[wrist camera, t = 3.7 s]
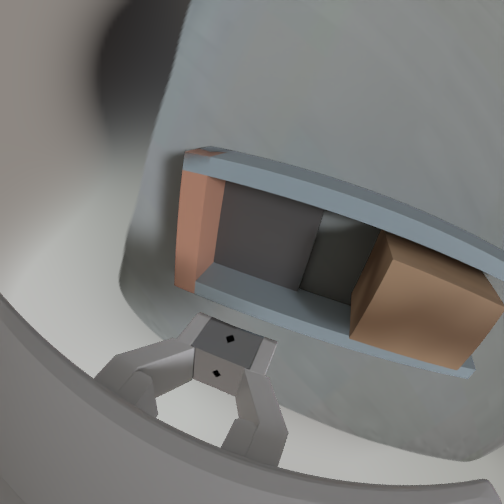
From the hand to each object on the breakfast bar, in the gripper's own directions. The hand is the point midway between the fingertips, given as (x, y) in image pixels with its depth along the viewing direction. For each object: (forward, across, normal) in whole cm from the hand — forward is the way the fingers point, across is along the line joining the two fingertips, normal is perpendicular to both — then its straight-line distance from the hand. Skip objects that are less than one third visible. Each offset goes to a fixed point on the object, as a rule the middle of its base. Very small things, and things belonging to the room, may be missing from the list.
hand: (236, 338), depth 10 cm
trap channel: (+9, -5, -1) cm, 10 cm away
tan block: (+9, -9, -1) cm, 13 cm away
